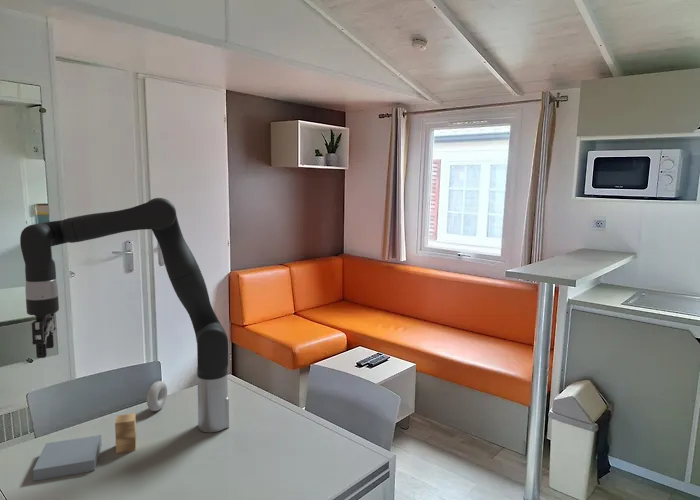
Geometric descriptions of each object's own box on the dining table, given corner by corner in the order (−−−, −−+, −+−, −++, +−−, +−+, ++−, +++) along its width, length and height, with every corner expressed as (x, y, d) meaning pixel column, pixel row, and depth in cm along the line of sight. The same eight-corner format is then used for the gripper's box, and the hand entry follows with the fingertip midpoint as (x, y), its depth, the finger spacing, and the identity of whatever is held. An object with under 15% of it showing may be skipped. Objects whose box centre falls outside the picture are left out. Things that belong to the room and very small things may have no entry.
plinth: (101, 444, 139) (101, 435, 139) (94, 470, 126) (94, 460, 126) (46, 453, 134) (46, 443, 134) (33, 481, 121) (32, 470, 121)
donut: (154, 416, 157) (153, 388, 156) (145, 416, 157) (144, 387, 156) (169, 403, 167) (168, 376, 166) (160, 403, 167) (159, 376, 166)
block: (136, 441, 141) (135, 413, 140) (135, 450, 137) (134, 420, 136) (118, 444, 139) (116, 415, 138) (116, 453, 135) (115, 423, 134)
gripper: (51, 300, 125) (55, 359, 127) (63, 290, 138) (66, 343, 140) (18, 302, 122) (22, 362, 124) (33, 291, 135) (36, 346, 137)
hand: (45, 352), depth 132 cm, fingers open, 8 cm apart
